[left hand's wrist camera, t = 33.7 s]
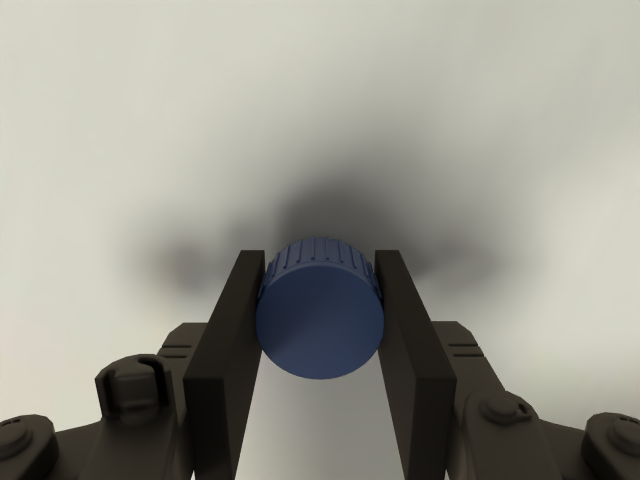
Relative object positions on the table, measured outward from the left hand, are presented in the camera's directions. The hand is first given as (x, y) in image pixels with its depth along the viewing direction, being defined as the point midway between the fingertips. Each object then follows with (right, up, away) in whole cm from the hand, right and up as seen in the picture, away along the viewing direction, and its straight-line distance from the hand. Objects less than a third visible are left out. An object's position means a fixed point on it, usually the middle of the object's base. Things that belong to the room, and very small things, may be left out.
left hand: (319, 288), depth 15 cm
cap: (0, -1, -2) cm, 2 cm away
